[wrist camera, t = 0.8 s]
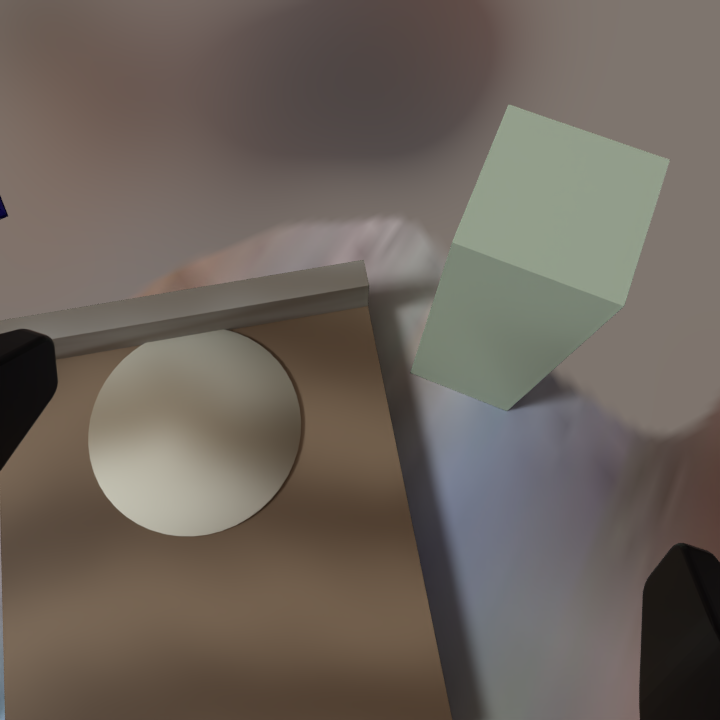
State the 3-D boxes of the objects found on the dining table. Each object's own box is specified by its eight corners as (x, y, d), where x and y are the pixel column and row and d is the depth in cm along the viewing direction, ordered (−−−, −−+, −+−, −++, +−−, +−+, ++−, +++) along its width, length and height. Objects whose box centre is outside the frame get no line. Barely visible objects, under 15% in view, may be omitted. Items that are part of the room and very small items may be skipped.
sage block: (506, 411, 24) (624, 306, 14) (410, 372, 25) (452, 242, 14) (538, 321, 25) (669, 159, 15) (445, 286, 26) (508, 104, 15)
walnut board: (450, 729, 21) (467, 760, 18) (27, 820, 20) (-31, 868, 17) (362, 294, 26) (363, 259, 22) (12, 353, 25) (-36, 326, 22)
